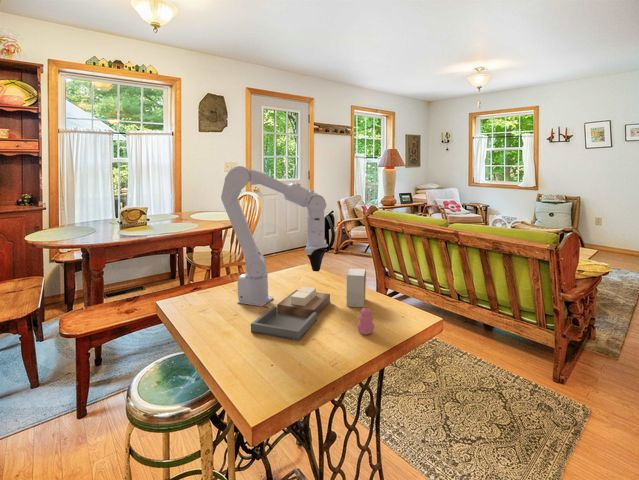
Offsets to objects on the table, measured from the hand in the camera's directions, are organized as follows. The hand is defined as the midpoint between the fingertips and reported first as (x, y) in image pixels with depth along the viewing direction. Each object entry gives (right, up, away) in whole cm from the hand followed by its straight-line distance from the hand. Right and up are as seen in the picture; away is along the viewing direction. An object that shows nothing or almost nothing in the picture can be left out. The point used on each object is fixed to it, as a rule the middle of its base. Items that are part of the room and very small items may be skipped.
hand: (316, 270), depth 122 cm
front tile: (-5, -9, -11) cm, 14 cm away
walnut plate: (-4, -11, -7) cm, 14 cm away
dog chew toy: (+13, -15, -24) cm, 31 cm away
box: (-9, -14, -20) cm, 26 cm away
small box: (+13, -10, -3) cm, 17 cm away
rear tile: (-3, -8, -6) cm, 10 cm away
